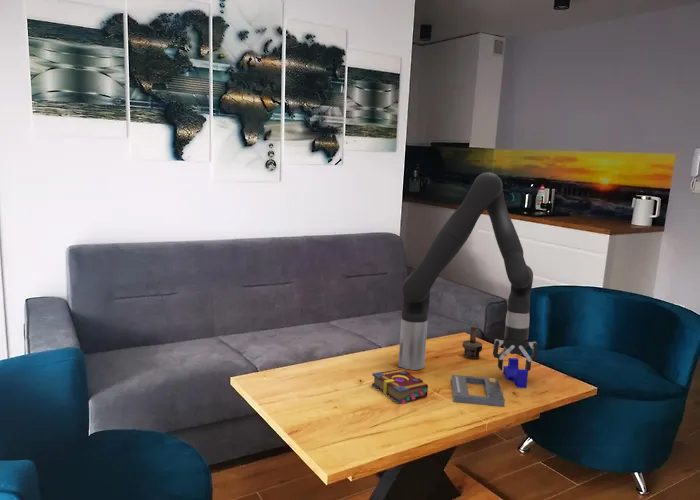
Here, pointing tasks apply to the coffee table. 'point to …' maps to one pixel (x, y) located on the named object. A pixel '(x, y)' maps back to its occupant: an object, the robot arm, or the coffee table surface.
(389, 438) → the coffee table surface
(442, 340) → the coffee table surface
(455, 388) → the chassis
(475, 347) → the industrial component
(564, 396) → the coffee table surface
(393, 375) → the decorative book
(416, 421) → the coffee table surface
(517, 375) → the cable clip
